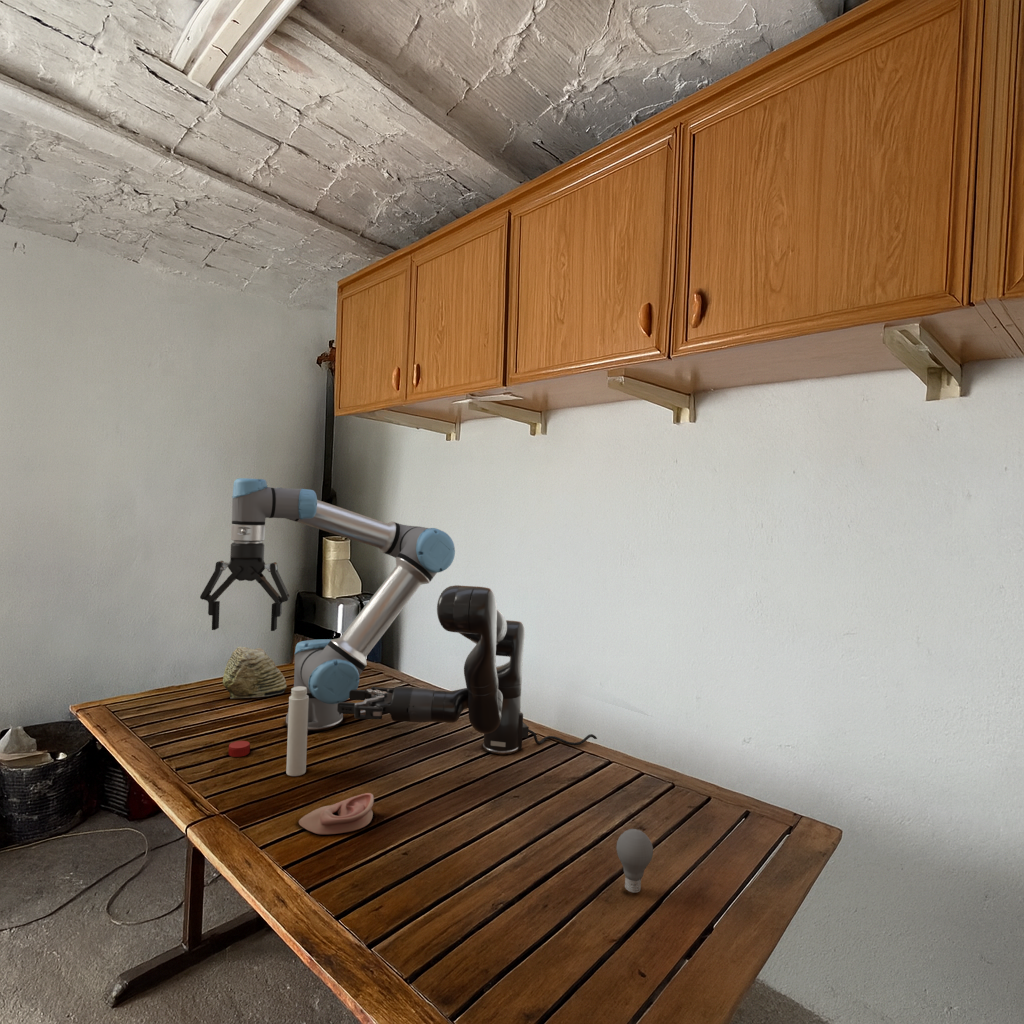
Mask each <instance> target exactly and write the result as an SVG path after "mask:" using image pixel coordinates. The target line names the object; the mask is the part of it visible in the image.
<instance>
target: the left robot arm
mask: <svg viewBox="0 0 1024 1024" xmlns="http://www.w3.org/2000/svg"><path fill="white" fill-rule="evenodd" d="M267 484H268V482H267V480H266V479H264V478H250V477H249V478H248V477H247V478H245V477H239V478H236V479H235V480H234V481H233V487H232V496H231V498H232V499H231V504H232V505H231V530H230V539H231V541H233V542H231V544H230V558H229V562H228V561H224V560H219V561H217V562H215V566H214V571H213V573H212V575H211V576H210V578H209V580H208V582H207V583H206V585H205V586H204V589H203V590H202V592H201V593H200V596H199V599H200V600H204V601H205V602H207V603H208V604H207V605H208V608H207V614H208V616H211V631H216V630H218V629H219V628H220V607H221V606H220V605H221V604H220V603H221V602H220V600H217V599H219V598H220V596H221V595H223V593H224V592H225V591H226V590H227V589H228V588H229V587H230V586H231V585H232V584H233V583H234V582H235V581H236V580H238V581H239V582H243V581H247V582H253V581H256V582H257V583H258V584H259V585H260V586H261V587H262V588H263V590H264V591H265V592H266V593H267V595H268V596H269V597H270V598H271V599H272V601H273V603H272V604H271V614H270V615H271V616H270V617H271V618H270V621H271V622H270V632H275V631H276V630H277V629H278V618H280V617H281V616H282V612H283V603H286V602H288V601H289V600H290V599H291V595H290V593H289V591H288V589H287V587H286V585H285V583H284V580H283V579H282V577H281V574H280V573H279V566H278V563H277V562H276V561H274V562H270V563H266V562H265V544H264V541H265V539H266V520H267V519H286V520H289V521H292V522H296V523H298V524H299V523H300V524H302V525H305V526H309V527H312V528H315V529H318V530H321V531H324V532H327V533H330V534H333V535H336V536H340V537H342V538H346V539H350V540H353V541H356V542H358V543H361V544H365V545H368V546H371V547H375V548H377V549H379V552H380V553H382V554H384V555H388V556H391V557H393V558H394V559H395V567H394V568H393V570H392V571H391V572H390V573H389V574H388V576H387V577H386V578H385V580H384V581H383V583H382V584H381V585H380V586H379V588H378V589H377V590H376V591H375V593H374V594H373V595H372V596H371V598H370V599H369V600H368V601H367V602H366V604H365V605H364V607H363V608H361V610H360V611H359V613H358V614H357V616H356V617H355V618H354V619H353V620H352V622H351V623H350V624H349V626H348V627H347V628H346V630H345V631H344V632H343V633H342V634H341V636H339V637H338V638H333V639H332V638H329V639H328V638H327V639H325V638H324V639H307V640H302V641H299V642H297V644H295V650H294V672H293V673H294V674H293V687H298V686H303V687H306V688H307V695H308V696H309V702H308V728H307V733H316V732H325V731H329V730H332V729H335V728H337V727H339V726H340V725H342V723H343V722H344V715H352V714H351V713H338V711H337V708H338V703H339V702H346V701H348V700H350V698H349V692H350V691H351V690H358V688H359V685H360V675H361V674H362V673H363V671H365V669H366V667H367V666H368V665H367V657H368V655H369V654H370V653H371V651H372V649H374V647H375V646H376V645H377V644H378V642H379V641H380V640H381V638H382V637H383V635H385V633H386V632H387V630H388V629H389V628H390V627H391V625H392V624H393V622H394V621H395V620H396V618H397V617H398V615H400V613H401V612H402V610H403V609H404V608H405V607H406V605H407V604H408V603H409V601H410V600H411V599H412V598H413V596H414V594H416V592H417V591H418V589H419V588H420V587H421V586H422V585H427V584H430V583H431V581H432V580H433V579H434V577H435V576H436V575H437V574H438V573H442V572H444V571H446V570H448V569H449V567H450V566H451V565H452V564H453V562H454V560H455V557H456V556H455V555H456V549H455V543H454V541H453V539H452V537H451V536H450V535H449V534H448V533H447V532H445V531H444V530H441V529H438V528H437V527H425V526H417V525H407V524H401V523H398V522H395V521H389V522H384V521H381V520H379V519H376V518H373V517H370V516H367V515H364V514H361V513H358V512H355V511H352V510H349V509H346V508H344V507H340V506H337V505H334V504H331V503H328V502H325V501H322V500H319V499H318V497H317V496H318V495H317V493H316V491H315V490H313V489H306V488H292V487H291V488H290V487H287V488H286V487H269V486H268V485H267ZM227 568H228V570H229V572H230V573H231V574H229V576H228V577H227V578H226V579H225V580H224V581H223V582H222V583H221V585H220V586H219V587H217V588H216V590H215V591H214V592H213V593H212V591H213V590H214V588H215V586H216V585H217V583H218V582H219V579H220V578H221V576H222V574H223V572H224V571H226V570H227ZM265 569H266V570H267V572H268V573H270V575H271V578H272V580H273V582H274V584H275V586H276V588H277V590H278V591H277V590H276V589H275V588H274V587H273V585H272V584H271V582H269V581H268V579H267V578H266V576H265V575H264V573H263V572H264V571H265ZM278 592H279V593H278ZM211 593H212V594H211ZM288 712H289V707H288V708H287V713H286V715H285V726H286V728H288Z"/></svg>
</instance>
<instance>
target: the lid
mask: <svg viewBox="0 0 1024 1024" xmlns="http://www.w3.org/2000/svg"><path fill="white" fill-rule="evenodd" d="M227 751H228V752H227V753H228V756H230V757H232V758H241V757H246V756H247V755H249V754H250V752H251V744H250V742H249V741H247V740H237V741H233V742H231V743H229V744H228V750H227Z"/></svg>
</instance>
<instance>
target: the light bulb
mask: <svg viewBox="0 0 1024 1024" xmlns="http://www.w3.org/2000/svg"><path fill="white" fill-rule="evenodd" d="M615 849H616V854H617V857H618V859H619V861H620V863H621V865H622V867H623V873H624V874H623V875H624V876H625V878H624V888H625V890H627V891H628V892H630V893H634V894H635V893H639V892H640V891H641V889H642V887H641V886H642V879H643V877H644V875H645V871H646V868H647V867H648V866H649V864H650V863H651V861H652V859H653V855H654V847H653V843H652V841H651V838H649V836H648V835H647V834H646V833H645V832H643V831H642V830H641V829H636V828H629V829H627V830H625V831H623V832H622V833H621V834H620V835H619V837H618V839H617V841H616V847H615Z"/></svg>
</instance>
